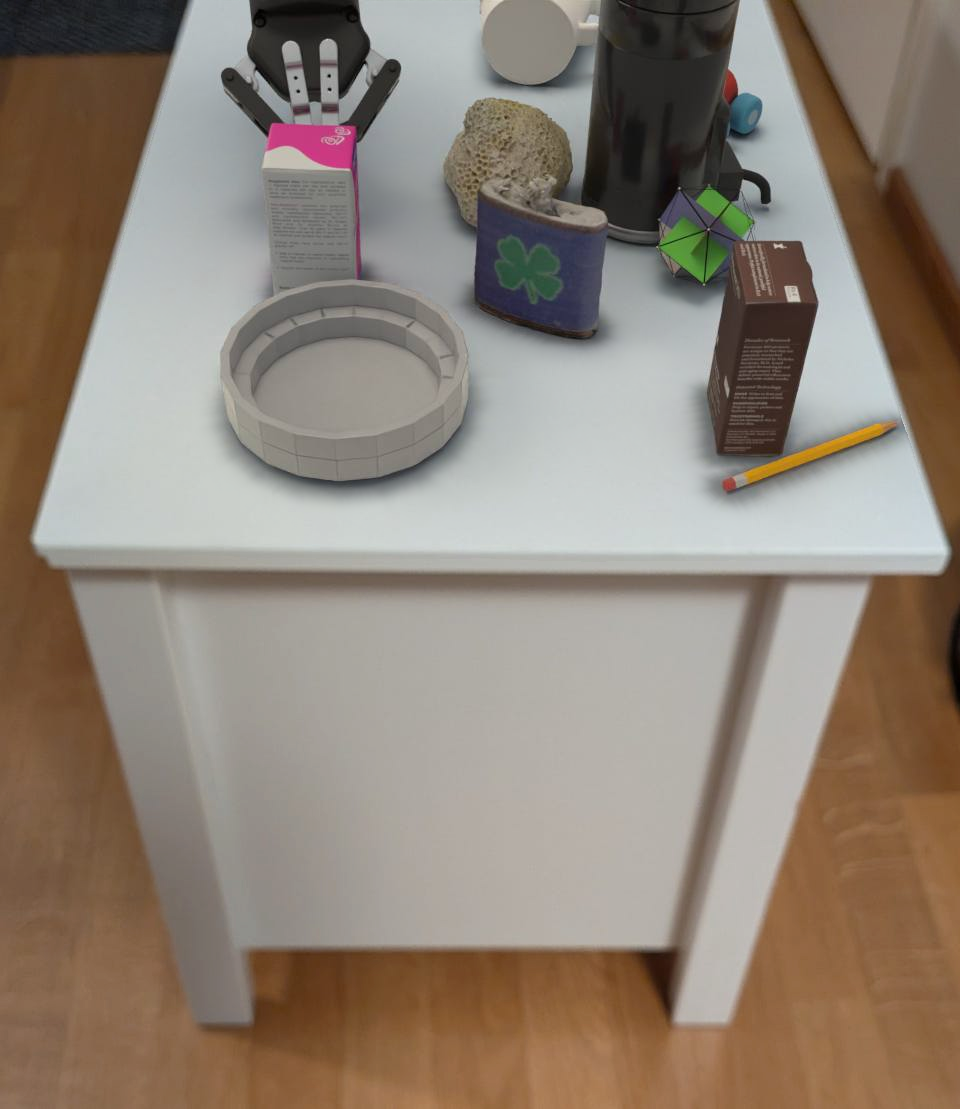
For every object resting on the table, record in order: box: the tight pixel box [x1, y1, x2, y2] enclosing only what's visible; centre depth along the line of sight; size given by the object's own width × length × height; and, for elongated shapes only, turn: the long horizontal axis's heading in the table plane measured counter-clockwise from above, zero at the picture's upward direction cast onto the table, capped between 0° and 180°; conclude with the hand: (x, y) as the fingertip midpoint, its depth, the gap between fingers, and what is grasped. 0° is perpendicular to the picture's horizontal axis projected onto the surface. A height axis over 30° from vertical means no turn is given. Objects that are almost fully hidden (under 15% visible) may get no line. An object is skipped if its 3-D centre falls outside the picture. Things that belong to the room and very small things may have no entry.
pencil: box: [721, 420, 901, 493], centre depth 78 cm, size 1×13×1 cm
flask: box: [473, 175, 609, 339], centre depth 83 cm, size 9×3×11 cm, turn 63°
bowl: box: [219, 279, 469, 482], centre depth 79 cm, size 15×15×4 cm
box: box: [706, 240, 820, 457], centre depth 75 cm, size 6×4×12 cm
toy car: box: [723, 68, 763, 141], centre depth 101 cm, size 9×9×10 cm
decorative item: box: [442, 97, 574, 229], centre depth 94 cm, size 12×9×10 cm
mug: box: [479, 0, 600, 86], centre depth 108 cm, size 12×9×8 cm
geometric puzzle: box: [655, 184, 757, 287], centre depth 88 cm, size 7×7×8 cm
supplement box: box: [260, 122, 362, 296], centre depth 84 cm, size 6×6×12 cm
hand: (325, 205), depth 88 cm, fingers closed
